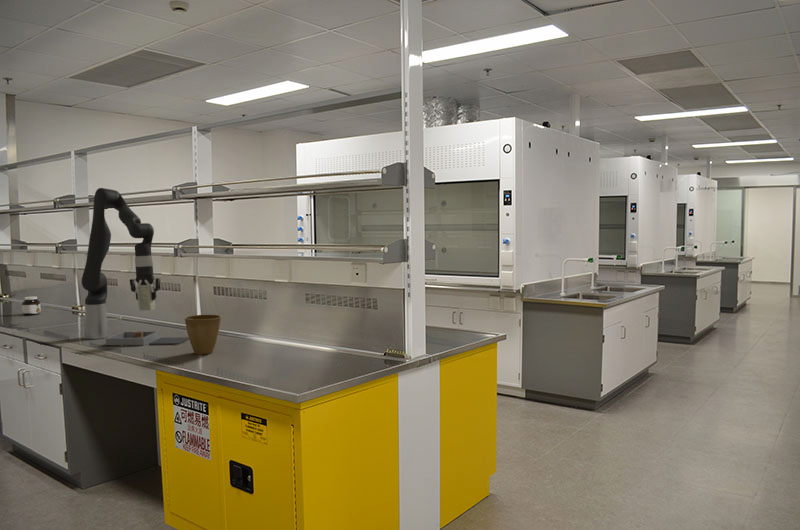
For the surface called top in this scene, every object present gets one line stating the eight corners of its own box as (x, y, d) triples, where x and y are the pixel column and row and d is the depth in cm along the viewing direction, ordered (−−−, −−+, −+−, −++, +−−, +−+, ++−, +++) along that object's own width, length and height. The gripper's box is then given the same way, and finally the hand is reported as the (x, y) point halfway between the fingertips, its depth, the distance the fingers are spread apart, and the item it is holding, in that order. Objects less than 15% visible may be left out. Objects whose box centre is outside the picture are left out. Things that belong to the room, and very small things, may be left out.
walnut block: (132, 341, 272) (132, 332, 272) (135, 339, 276) (135, 331, 276) (141, 340, 273) (141, 332, 272) (143, 339, 276) (143, 331, 276)
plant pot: (201, 358, 233) (200, 320, 232) (178, 354, 241) (177, 317, 240) (229, 351, 246) (228, 315, 245) (206, 347, 254) (205, 313, 253)
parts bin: (106, 345, 260) (105, 338, 260) (124, 338, 278) (124, 331, 278) (143, 345, 260) (143, 338, 260) (159, 338, 278) (159, 331, 278)
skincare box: (155, 309, 268) (154, 283, 267) (150, 310, 263) (148, 284, 263) (143, 309, 268) (141, 284, 268) (138, 310, 264) (136, 285, 263)
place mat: (149, 345, 261) (149, 343, 261) (161, 339, 275) (161, 337, 275) (179, 344, 261) (178, 343, 261) (190, 338, 275) (189, 337, 275)
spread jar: (30, 316, 355) (29, 298, 355) (15, 315, 357) (14, 297, 357) (45, 313, 367) (44, 295, 366) (30, 313, 369) (29, 295, 368)
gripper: (125, 266, 261) (127, 301, 262) (155, 265, 261) (158, 300, 262) (132, 265, 268) (135, 299, 269) (162, 264, 268) (164, 298, 269)
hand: (146, 300), depth 266 cm, fingers closed on skincare box, 6 cm apart
